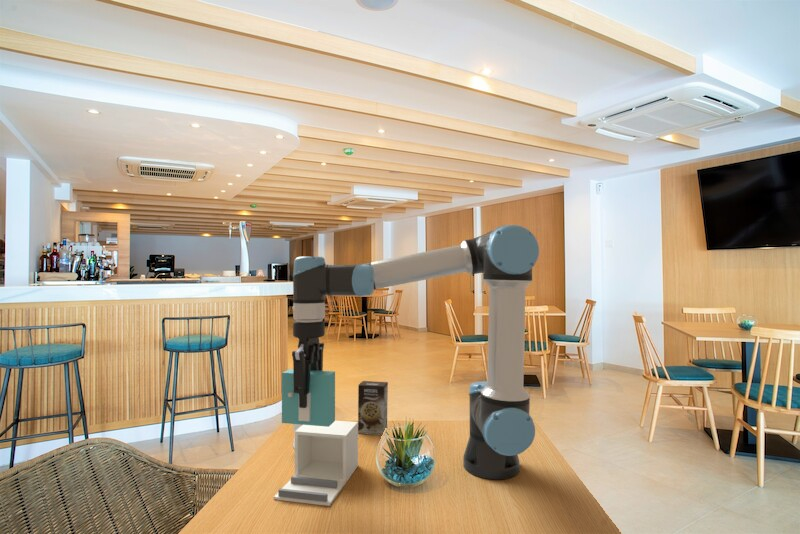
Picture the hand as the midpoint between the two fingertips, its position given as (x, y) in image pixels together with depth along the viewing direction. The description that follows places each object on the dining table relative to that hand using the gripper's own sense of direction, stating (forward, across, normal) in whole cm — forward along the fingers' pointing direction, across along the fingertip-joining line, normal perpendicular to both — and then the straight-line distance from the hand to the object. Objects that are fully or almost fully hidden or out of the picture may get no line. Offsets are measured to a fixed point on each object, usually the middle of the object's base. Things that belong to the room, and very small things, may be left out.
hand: (308, 416), depth 104 cm
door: (+1, 0, 0) cm, 1 cm away
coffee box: (+19, -43, +4) cm, 47 cm away
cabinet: (+19, -7, 0) cm, 20 cm away
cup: (+19, -27, -13) cm, 35 cm away
